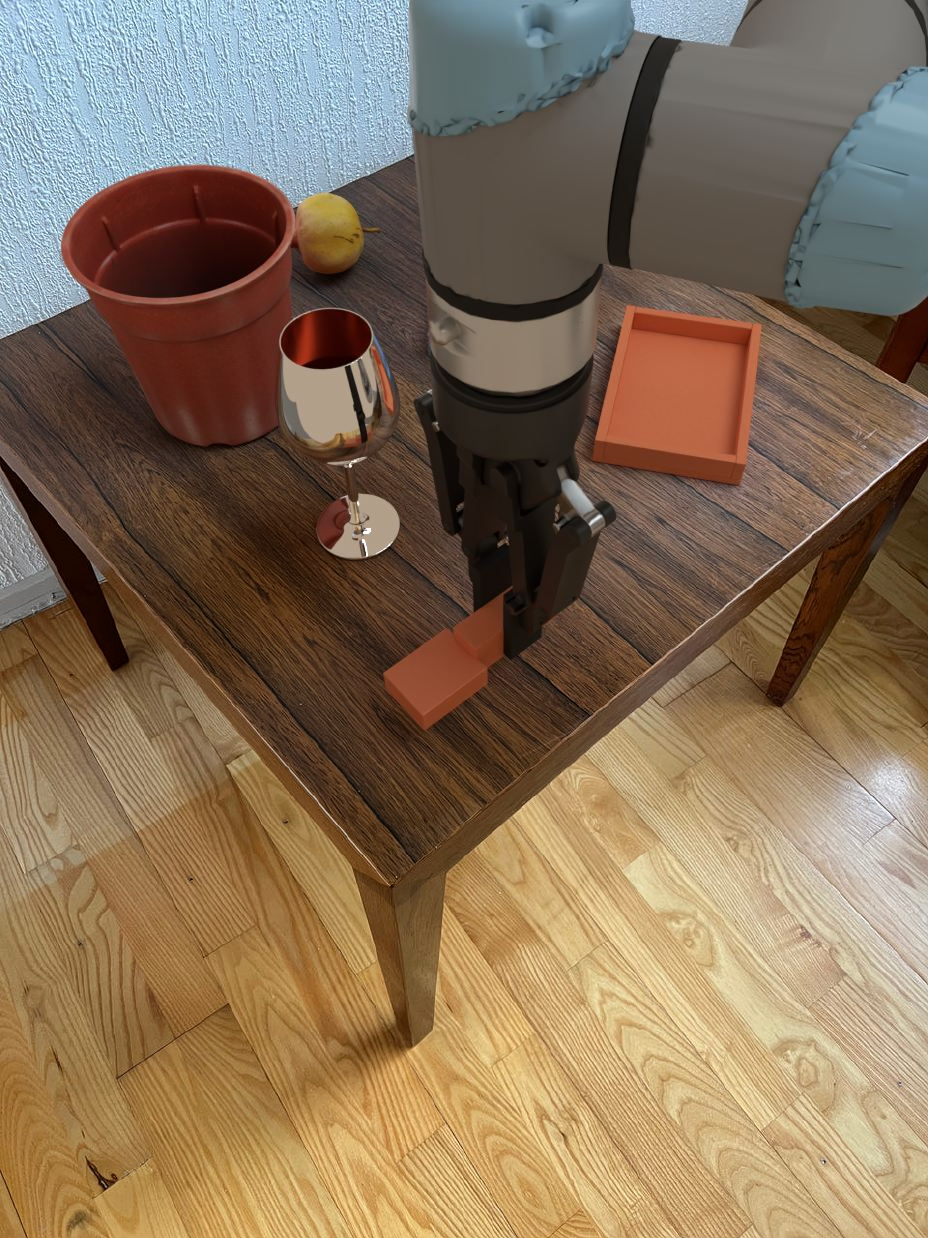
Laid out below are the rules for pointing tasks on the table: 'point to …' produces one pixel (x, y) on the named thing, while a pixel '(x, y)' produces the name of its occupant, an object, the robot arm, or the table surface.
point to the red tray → (680, 395)
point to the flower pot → (192, 291)
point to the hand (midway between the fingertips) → (507, 630)
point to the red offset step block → (449, 665)
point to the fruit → (328, 233)
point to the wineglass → (339, 419)
